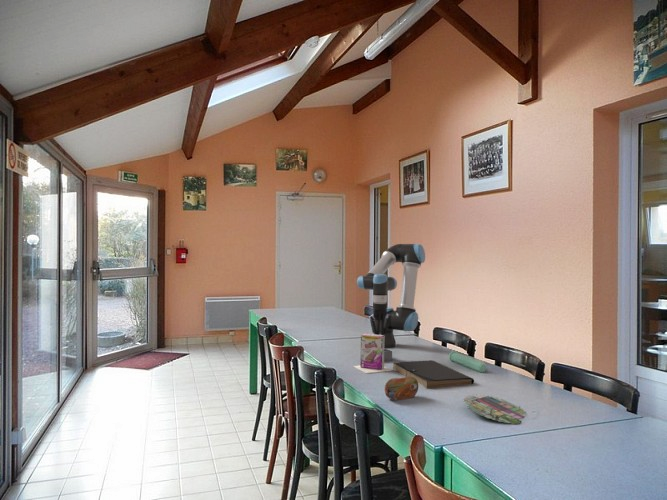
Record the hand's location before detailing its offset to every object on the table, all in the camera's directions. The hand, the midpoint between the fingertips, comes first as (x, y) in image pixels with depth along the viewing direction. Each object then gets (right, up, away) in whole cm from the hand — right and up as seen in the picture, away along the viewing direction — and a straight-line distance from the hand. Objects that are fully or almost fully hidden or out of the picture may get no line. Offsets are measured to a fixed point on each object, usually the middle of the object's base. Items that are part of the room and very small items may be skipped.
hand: (379, 346), depth 248 cm
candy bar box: (-6, -7, -20) cm, 22 cm away
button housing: (0, -7, 0) cm, 7 cm away
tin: (+2, -7, -64) cm, 65 cm away
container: (+44, -8, -13) cm, 47 cm away
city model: (+35, -8, -80) cm, 88 cm away
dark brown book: (+21, -8, -32) cm, 39 cm away
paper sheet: (-5, -7, -20) cm, 22 cm away
